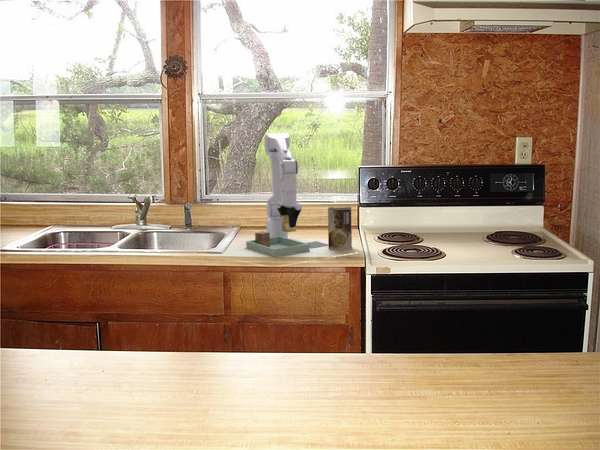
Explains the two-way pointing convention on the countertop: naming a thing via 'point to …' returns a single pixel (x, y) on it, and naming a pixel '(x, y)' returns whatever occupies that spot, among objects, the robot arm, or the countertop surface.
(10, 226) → the countertop surface
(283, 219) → the oak block
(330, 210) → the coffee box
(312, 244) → the mat
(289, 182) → the robot arm
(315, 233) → the countertop surface
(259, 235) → the walnut block
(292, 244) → the bin
